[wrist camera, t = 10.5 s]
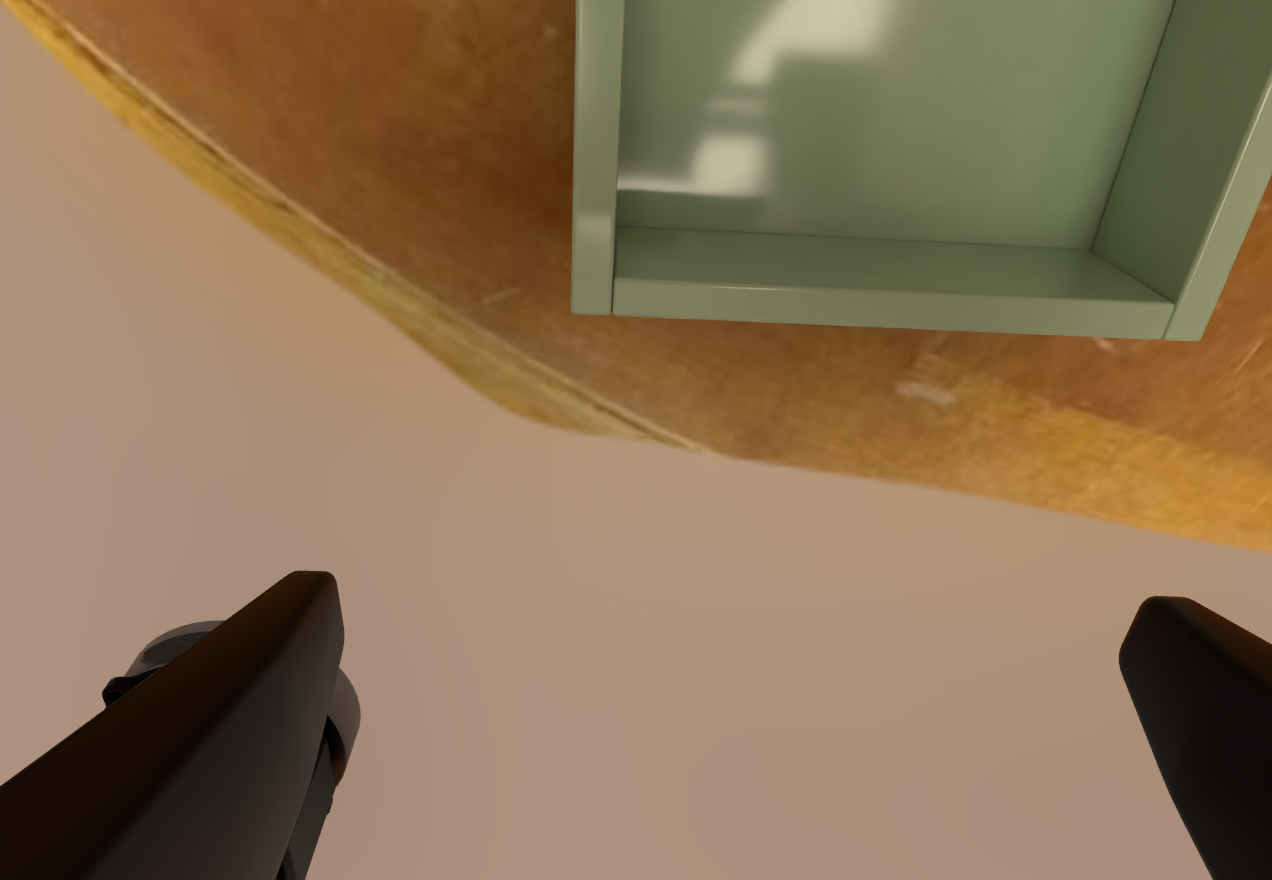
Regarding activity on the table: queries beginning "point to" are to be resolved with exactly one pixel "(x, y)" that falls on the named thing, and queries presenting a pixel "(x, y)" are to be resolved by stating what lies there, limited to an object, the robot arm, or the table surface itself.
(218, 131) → the table surface
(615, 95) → the tray
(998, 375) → the table surface
